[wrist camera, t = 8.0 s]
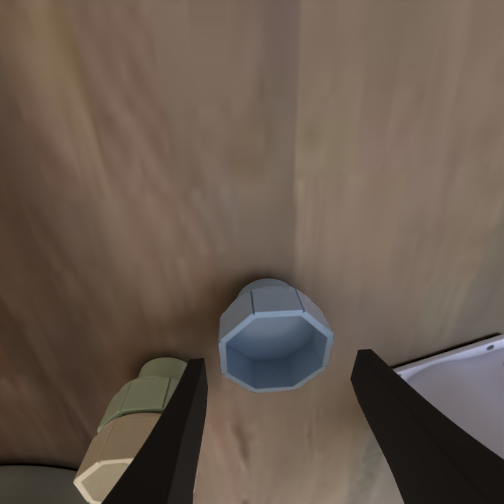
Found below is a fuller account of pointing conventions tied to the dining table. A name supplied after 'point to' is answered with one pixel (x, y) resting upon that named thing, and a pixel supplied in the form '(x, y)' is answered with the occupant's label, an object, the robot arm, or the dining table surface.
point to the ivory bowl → (113, 454)
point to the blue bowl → (273, 338)
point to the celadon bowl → (146, 389)
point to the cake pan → (38, 485)
